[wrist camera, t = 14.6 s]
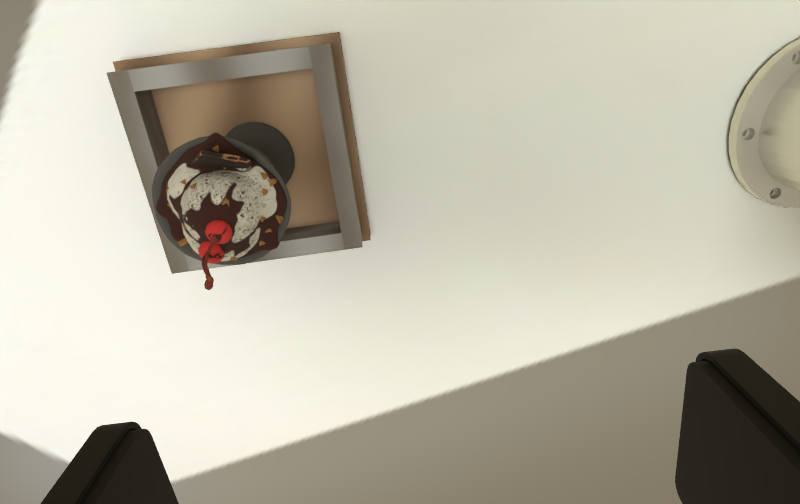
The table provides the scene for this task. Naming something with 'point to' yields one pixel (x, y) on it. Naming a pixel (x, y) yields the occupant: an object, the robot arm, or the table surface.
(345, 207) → the stand
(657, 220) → the table surface
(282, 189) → the sundae
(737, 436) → the robot arm
